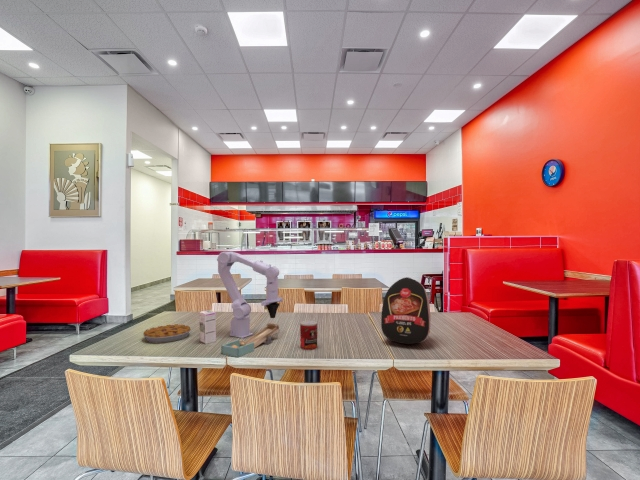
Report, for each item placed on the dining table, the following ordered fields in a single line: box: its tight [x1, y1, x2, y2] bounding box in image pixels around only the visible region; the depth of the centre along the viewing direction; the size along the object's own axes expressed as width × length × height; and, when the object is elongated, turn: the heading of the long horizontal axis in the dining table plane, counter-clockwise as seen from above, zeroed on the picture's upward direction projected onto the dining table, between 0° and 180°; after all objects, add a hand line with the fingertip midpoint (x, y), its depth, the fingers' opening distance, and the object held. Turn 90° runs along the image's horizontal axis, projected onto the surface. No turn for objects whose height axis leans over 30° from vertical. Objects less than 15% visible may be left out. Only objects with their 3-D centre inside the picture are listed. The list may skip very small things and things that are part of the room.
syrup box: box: [199, 309, 217, 345], centre depth 154 cm, size 6×6×14 cm
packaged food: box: [380, 276, 431, 345], centre depth 150 cm, size 22×20×30 cm
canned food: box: [299, 320, 318, 351], centre depth 145 cm, size 8×8×11 cm
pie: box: [142, 323, 192, 344], centre depth 162 cm, size 22×22×5 cm
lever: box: [233, 322, 280, 349], centre depth 154 cm, size 14×18×3 cm
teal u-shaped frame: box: [220, 339, 255, 358], centre depth 138 cm, size 10×10×4 cm
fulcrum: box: [253, 333, 273, 346], centre depth 152 cm, size 9×4×3 cm, turn 59°
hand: (272, 317), depth 162 cm, fingers closed
